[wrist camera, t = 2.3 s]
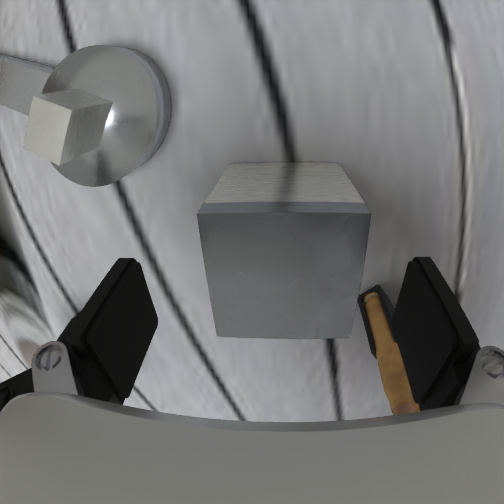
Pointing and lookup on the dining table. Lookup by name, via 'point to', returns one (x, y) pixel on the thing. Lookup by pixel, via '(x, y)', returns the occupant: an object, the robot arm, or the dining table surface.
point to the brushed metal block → (284, 250)
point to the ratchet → (90, 110)
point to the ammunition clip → (386, 350)
